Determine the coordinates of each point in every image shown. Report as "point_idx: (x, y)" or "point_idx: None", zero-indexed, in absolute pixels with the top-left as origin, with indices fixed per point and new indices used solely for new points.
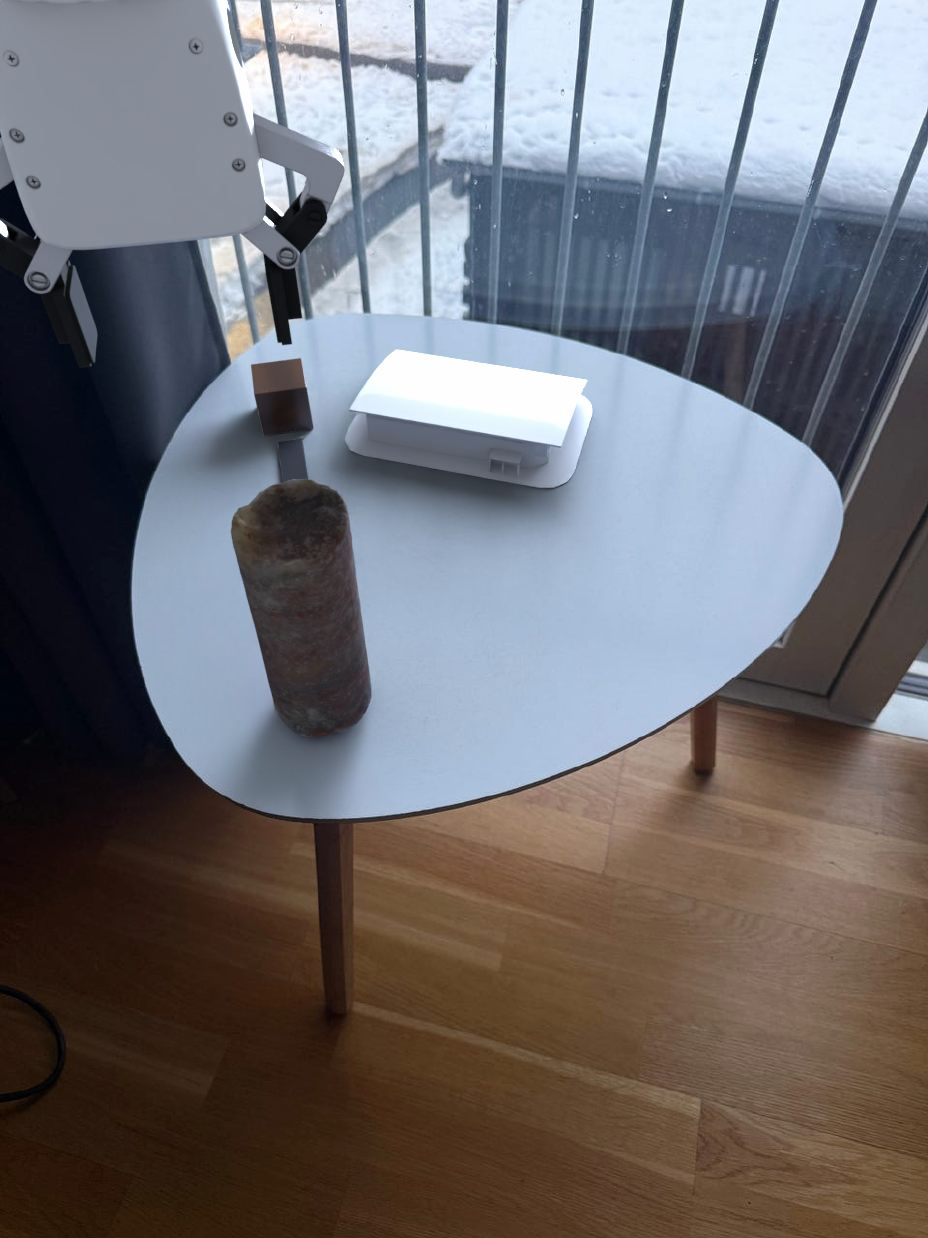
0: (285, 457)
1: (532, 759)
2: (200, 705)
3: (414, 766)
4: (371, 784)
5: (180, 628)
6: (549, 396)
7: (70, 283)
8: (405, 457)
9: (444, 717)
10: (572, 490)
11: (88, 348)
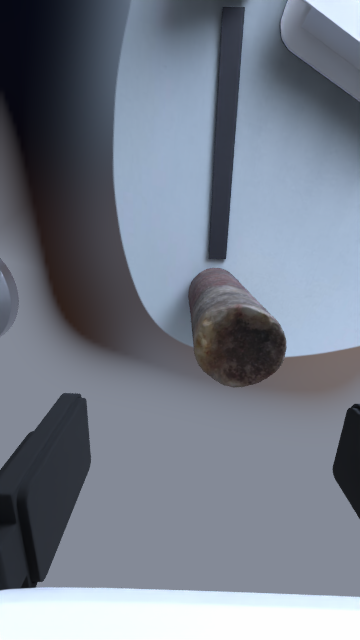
0: (226, 36)
1: (303, 347)
2: (149, 277)
3: None
4: None
5: (138, 217)
6: None
7: (35, 556)
8: (323, 64)
9: None
10: None
11: (82, 485)
